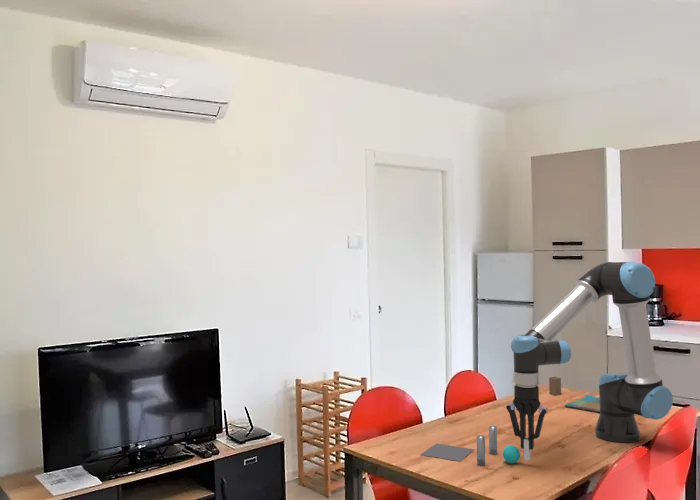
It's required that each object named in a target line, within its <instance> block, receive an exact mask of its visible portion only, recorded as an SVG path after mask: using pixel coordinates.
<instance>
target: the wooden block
mask: <svg viewBox="0 0 700 500" xmlns="http://www.w3.org/2000/svg"><path fill="white" fill-rule="evenodd" d="M548 382H549V385H548V386H549V389H548V391H549V395H553V396H561V395H562V379H561V377H557V376H551V377H549V378H548Z"/></svg>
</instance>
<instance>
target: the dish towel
mask: <svg viewBox="0 0 700 500" xmlns="http://www.w3.org/2000/svg"><path fill="white" fill-rule="evenodd" d="M564 408H566V409H571V410H575V411H576V410H577V411H584V412H589V413H595V414H599V415H600V397H597V396H593V395H589V394H588V395H585V397H583V398H580V399H576V400H573V401H571V402H569V403H566V404H565V405H564Z"/></svg>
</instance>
